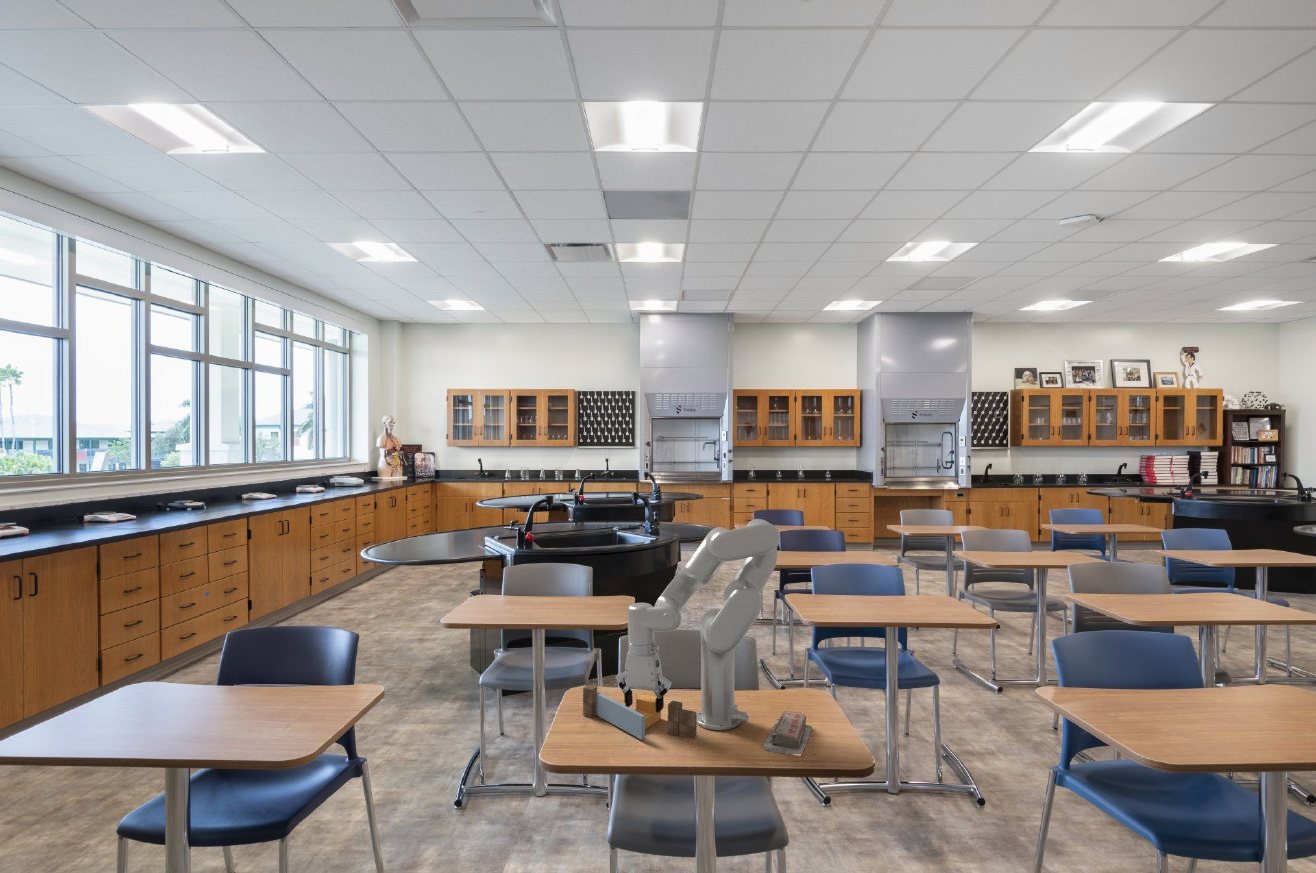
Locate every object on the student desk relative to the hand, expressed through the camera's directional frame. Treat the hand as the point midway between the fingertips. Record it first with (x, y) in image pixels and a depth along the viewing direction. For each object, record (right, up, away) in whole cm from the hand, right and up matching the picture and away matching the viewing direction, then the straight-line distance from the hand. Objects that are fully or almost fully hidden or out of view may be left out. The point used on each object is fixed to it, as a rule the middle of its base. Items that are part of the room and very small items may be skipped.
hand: (644, 708), depth 179 cm
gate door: (-7, -3, -4) cm, 8 cm away
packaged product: (+39, -5, -10) cm, 41 cm away
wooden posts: (-2, -4, -1) cm, 5 cm away
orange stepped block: (-1, -4, 0) cm, 4 cm away
